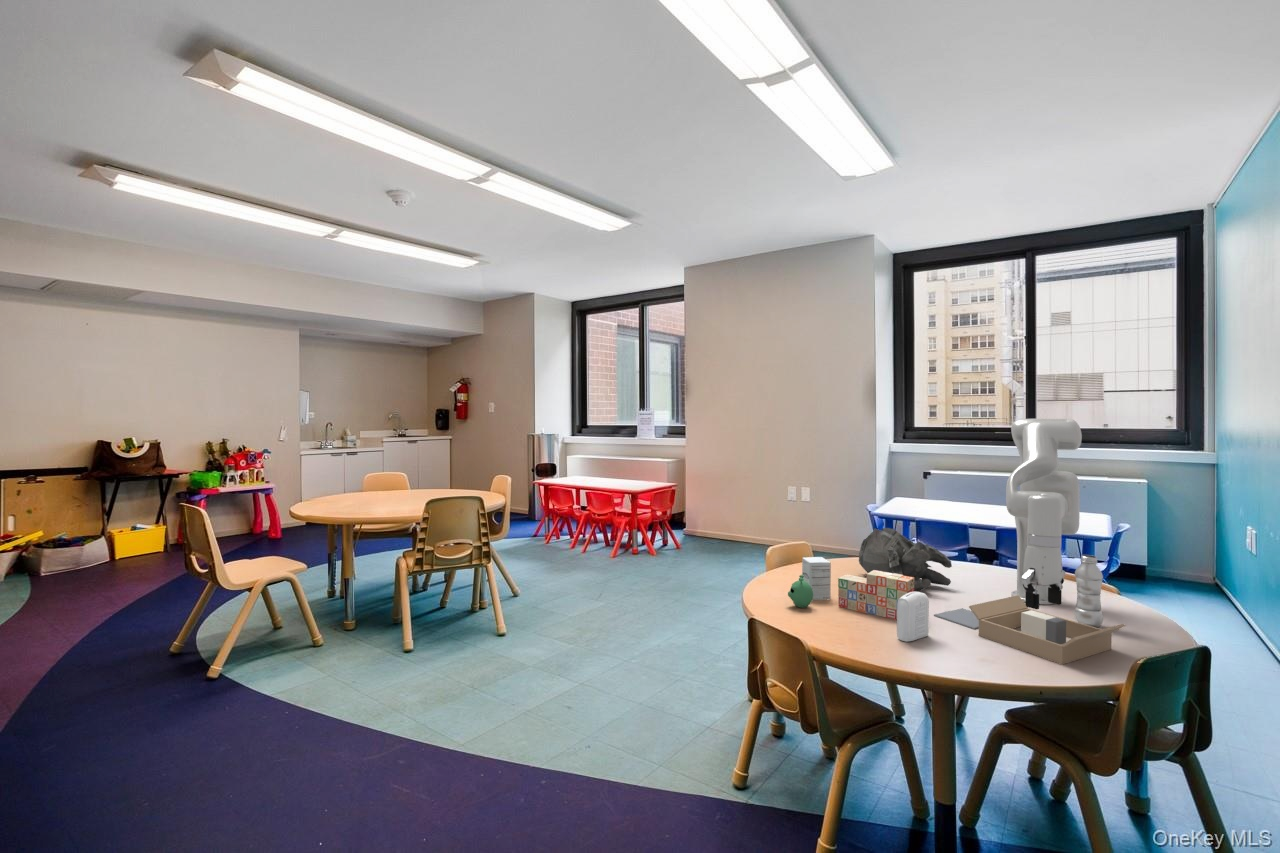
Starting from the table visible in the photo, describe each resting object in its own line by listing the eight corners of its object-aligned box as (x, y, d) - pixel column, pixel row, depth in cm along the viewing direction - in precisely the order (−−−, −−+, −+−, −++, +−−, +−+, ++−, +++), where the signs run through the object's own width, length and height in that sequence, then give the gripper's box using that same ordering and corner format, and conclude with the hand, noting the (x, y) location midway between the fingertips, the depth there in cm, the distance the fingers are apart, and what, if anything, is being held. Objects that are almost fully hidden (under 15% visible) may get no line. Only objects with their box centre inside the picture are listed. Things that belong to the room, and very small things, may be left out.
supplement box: (801, 594, 206) (801, 557, 206) (822, 593, 207) (822, 556, 207) (809, 600, 199) (809, 562, 199) (831, 600, 200) (831, 561, 199)
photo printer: (916, 631, 171) (916, 587, 171) (931, 636, 167) (931, 591, 167) (894, 638, 165) (894, 593, 165) (908, 643, 162) (909, 597, 161)
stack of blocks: (837, 607, 193) (837, 568, 193) (846, 602, 198) (846, 564, 197) (907, 622, 178) (907, 580, 178) (914, 617, 183) (914, 576, 183)
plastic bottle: (1095, 630, 171) (1096, 560, 170) (1069, 623, 177) (1070, 555, 176) (1107, 627, 174) (1108, 557, 173) (1081, 619, 180) (1082, 552, 179)
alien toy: (788, 602, 197) (788, 572, 197) (813, 604, 195) (813, 573, 194) (787, 609, 190) (787, 577, 190) (812, 611, 188) (812, 579, 188)
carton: (1016, 620, 180) (1016, 594, 179) (1124, 653, 155) (1125, 623, 155) (968, 632, 170) (968, 605, 170) (1075, 669, 145) (1075, 637, 145)
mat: (962, 609, 190) (962, 608, 190) (1003, 622, 178) (1003, 620, 178) (933, 615, 184) (933, 614, 184) (973, 629, 172) (973, 628, 172)
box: (1031, 635, 167) (1031, 610, 167) (1065, 646, 159) (1066, 620, 159) (1020, 638, 165) (1021, 612, 165) (1055, 649, 157) (1056, 622, 157)
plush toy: (958, 594, 206) (959, 536, 206) (881, 593, 206) (882, 536, 206) (922, 572, 233) (922, 521, 233) (854, 572, 234) (854, 521, 233)
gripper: (1049, 536, 169) (1048, 598, 169) (1009, 541, 161) (1009, 605, 161) (1078, 541, 162) (1077, 605, 162) (1038, 546, 155) (1038, 613, 155)
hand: (1043, 605), depth 162 cm, fingers open, 9 cm apart
